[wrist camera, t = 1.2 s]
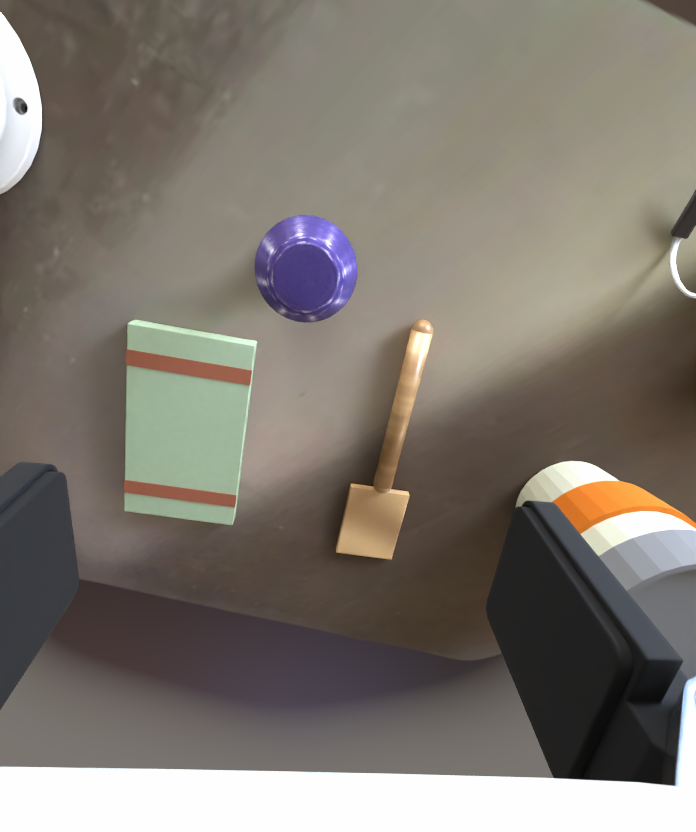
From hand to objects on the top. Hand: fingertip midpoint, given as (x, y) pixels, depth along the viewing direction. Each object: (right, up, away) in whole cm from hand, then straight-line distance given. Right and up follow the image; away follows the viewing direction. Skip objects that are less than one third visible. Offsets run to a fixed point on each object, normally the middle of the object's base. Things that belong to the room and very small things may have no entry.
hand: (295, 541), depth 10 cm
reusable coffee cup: (+21, -5, +33) cm, 39 cm away
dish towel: (-12, +2, +28) cm, 30 cm away
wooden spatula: (+5, 0, +30) cm, 30 cm away
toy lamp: (-2, +14, +24) cm, 28 cm away
